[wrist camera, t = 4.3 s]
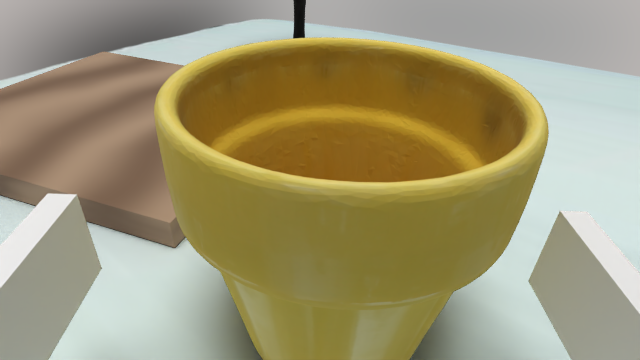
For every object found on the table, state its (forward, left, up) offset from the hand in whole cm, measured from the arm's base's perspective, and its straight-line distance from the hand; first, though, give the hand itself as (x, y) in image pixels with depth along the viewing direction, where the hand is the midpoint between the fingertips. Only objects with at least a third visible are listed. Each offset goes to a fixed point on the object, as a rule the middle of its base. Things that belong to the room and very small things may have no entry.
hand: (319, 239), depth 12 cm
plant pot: (0, -2, -6) cm, 6 cm away
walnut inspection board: (+18, -12, -6) cm, 23 cm away
